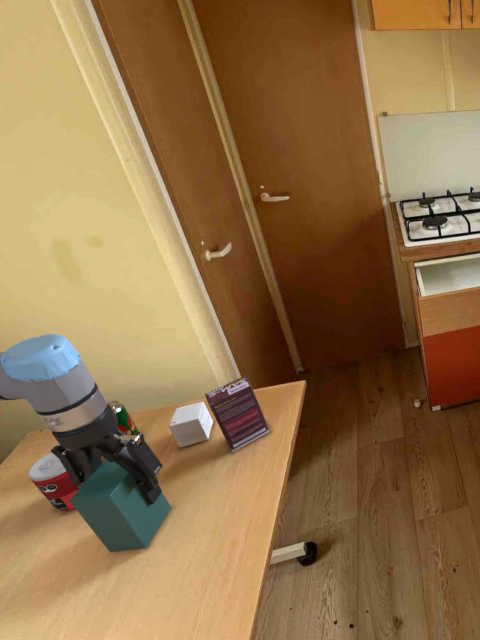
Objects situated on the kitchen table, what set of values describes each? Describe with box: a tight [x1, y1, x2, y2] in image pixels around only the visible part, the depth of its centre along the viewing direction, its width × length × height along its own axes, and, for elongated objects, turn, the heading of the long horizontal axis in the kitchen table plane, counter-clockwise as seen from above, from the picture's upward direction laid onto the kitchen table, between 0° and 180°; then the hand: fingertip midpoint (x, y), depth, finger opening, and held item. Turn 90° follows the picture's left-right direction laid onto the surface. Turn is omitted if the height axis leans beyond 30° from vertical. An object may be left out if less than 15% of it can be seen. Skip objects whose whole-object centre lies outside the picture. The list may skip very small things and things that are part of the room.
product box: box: [168, 401, 214, 448], centre depth 102 cm, size 6×6×7 cm
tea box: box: [69, 459, 172, 553], centre depth 80 cm, size 6×16×8 cm
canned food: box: [27, 451, 84, 513], centre depth 88 cm, size 8×8×11 cm
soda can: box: [108, 400, 140, 436], centre depth 99 cm, size 5×5×12 cm
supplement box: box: [204, 375, 270, 453], centre depth 100 cm, size 9×5×16 cm, turn 135°
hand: (136, 499), depth 82 cm, fingers closed on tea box, 6 cm apart
